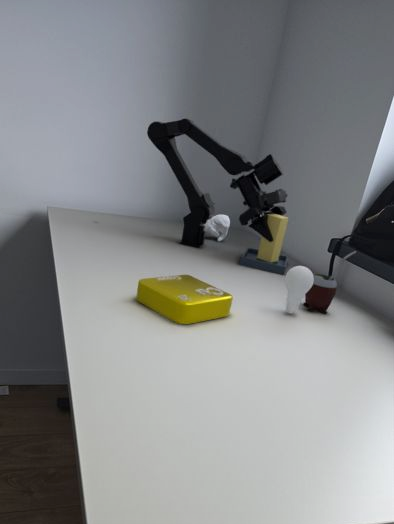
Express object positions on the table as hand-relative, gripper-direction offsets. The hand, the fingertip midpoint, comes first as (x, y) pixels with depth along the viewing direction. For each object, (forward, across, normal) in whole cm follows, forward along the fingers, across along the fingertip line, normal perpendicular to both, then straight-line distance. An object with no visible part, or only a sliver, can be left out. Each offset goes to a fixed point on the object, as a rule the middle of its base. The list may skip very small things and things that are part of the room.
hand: (276, 240), depth 145 cm
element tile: (+12, -54, -1) cm, 55 cm away
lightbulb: (+22, -33, -11) cm, 41 cm away
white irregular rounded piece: (-15, +10, +27) cm, 32 cm away
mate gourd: (+24, -23, -13) cm, 36 cm away
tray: (+4, +1, +7) cm, 8 cm away
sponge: (+4, 0, +6) cm, 7 cm away
